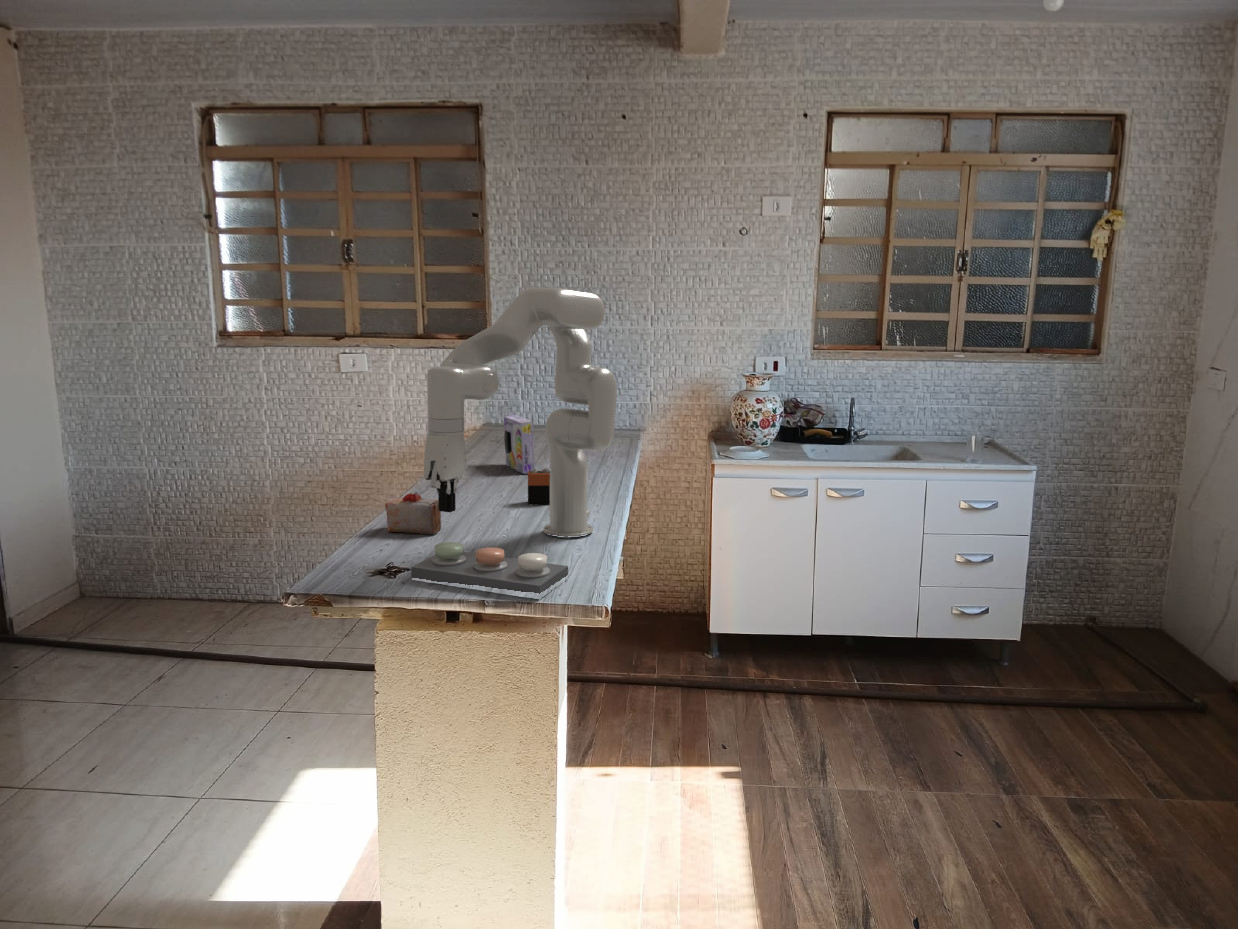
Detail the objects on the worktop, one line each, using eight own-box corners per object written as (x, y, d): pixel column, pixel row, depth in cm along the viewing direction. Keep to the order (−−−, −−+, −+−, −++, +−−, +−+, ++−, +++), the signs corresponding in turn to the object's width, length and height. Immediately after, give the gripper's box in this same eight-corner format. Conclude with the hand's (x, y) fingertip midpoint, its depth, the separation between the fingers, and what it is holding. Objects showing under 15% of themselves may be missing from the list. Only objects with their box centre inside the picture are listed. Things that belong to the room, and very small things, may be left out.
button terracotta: (484, 554, 194) (484, 546, 193) (509, 557, 192) (509, 549, 191) (470, 562, 188) (470, 553, 188) (495, 565, 186) (495, 557, 186)
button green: (444, 548, 197) (444, 540, 197) (468, 552, 195) (468, 544, 195) (429, 556, 192) (429, 548, 191) (453, 559, 190) (453, 551, 189)
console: (446, 562, 202) (446, 547, 202) (568, 579, 192) (568, 563, 191) (411, 580, 190) (410, 564, 189) (539, 600, 179) (539, 583, 179)
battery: (552, 504, 257) (552, 470, 255) (528, 505, 256) (528, 470, 254) (551, 501, 261) (551, 467, 259) (527, 501, 260) (527, 467, 258)
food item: (381, 534, 224) (380, 495, 222) (394, 525, 232) (392, 488, 230) (434, 537, 222) (433, 498, 220) (444, 528, 230) (443, 491, 228)
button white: (526, 559, 190) (526, 551, 190) (551, 563, 188) (551, 555, 188) (513, 567, 185) (513, 559, 184) (539, 571, 183) (539, 563, 182)
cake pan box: (503, 464, 312) (502, 414, 308) (517, 463, 314) (516, 413, 310) (521, 475, 295) (520, 422, 291) (535, 474, 297) (535, 421, 293)
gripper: (449, 420, 196) (450, 502, 199) (410, 429, 182) (412, 516, 186) (479, 422, 193) (479, 505, 197) (442, 432, 180) (443, 520, 183)
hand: (447, 510), depth 191 cm, fingers closed
